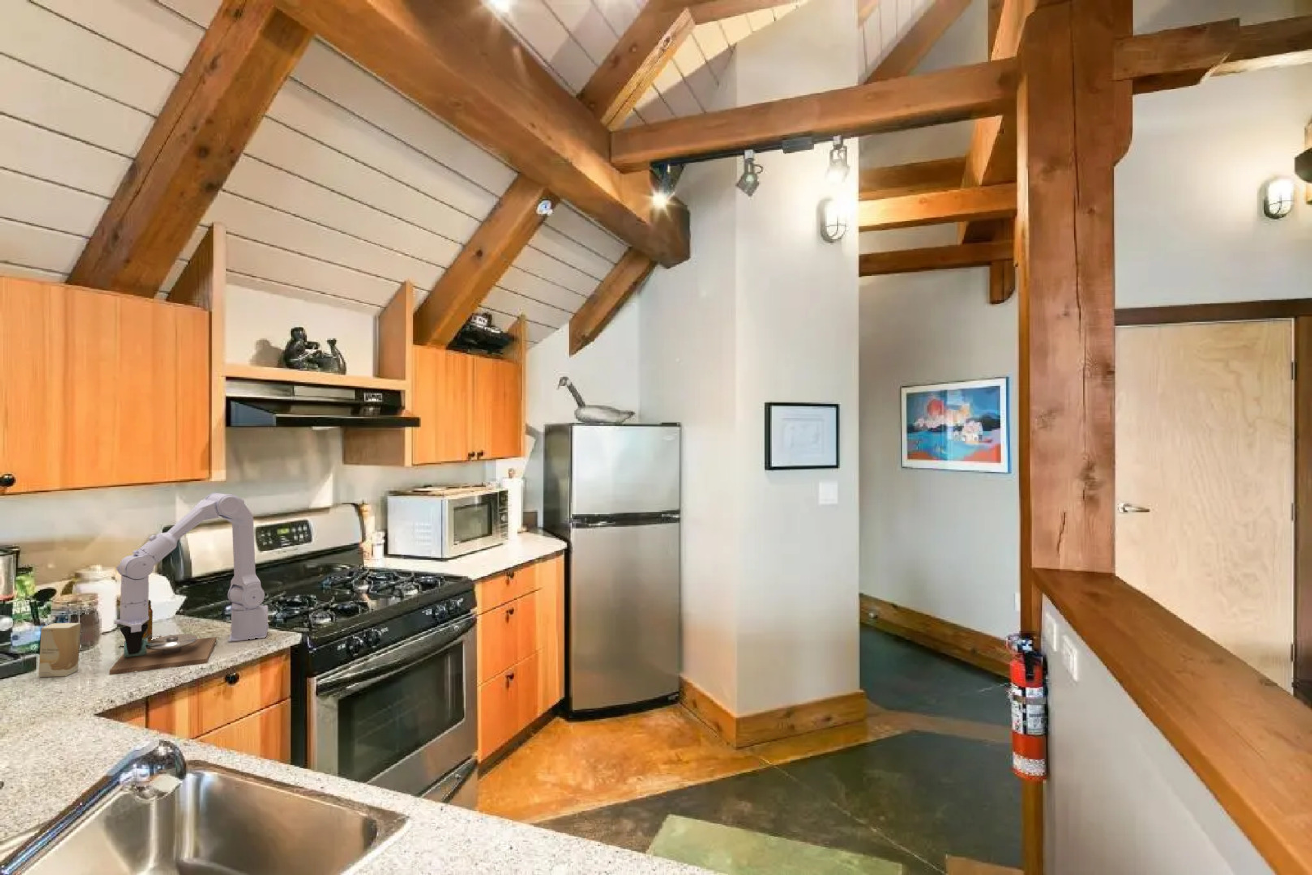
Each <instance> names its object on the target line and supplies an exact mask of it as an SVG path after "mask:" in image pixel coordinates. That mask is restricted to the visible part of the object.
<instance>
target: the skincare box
mask: <svg viewBox="0 0 1312 875" xmlns="http://www.w3.org/2000/svg"><path fill="white" fill-rule="evenodd" d="M81 626H82V625H81V623H80V622H62V623H61V622H59V623H54V622H53V623H51V624H49V625H45V626H44V627H43V626H42V627H41V631H40V643H39V644H40V646H39V661H38V662H39V665H38V678H45V677H47V678H48V677H67V676H70V675H73V673H76V672H78V671H79V661H80V658H79V657H80V645H81V644H80V643H81V642H80V640H81Z"/></svg>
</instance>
